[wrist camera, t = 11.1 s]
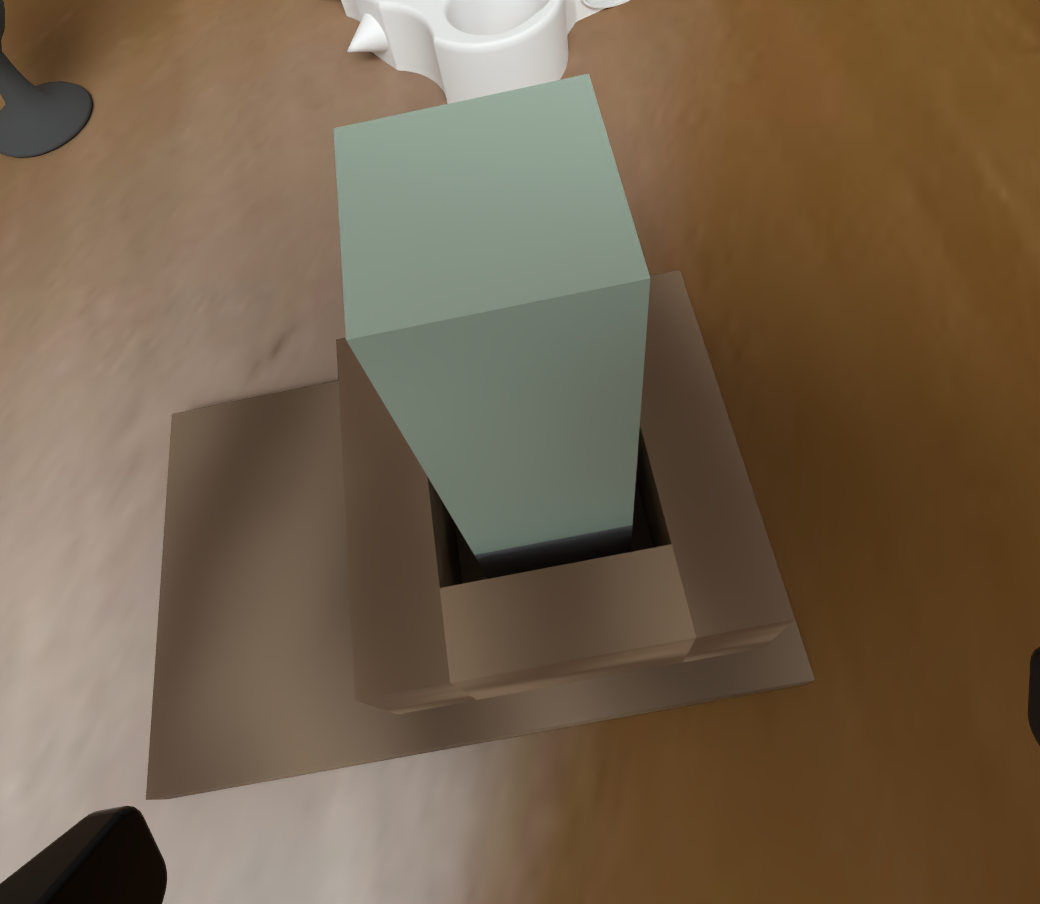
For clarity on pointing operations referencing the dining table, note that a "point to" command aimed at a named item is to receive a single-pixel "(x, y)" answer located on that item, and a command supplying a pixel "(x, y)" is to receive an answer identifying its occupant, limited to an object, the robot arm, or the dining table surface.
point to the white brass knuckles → (471, 40)
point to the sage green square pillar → (502, 314)
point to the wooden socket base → (442, 586)
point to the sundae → (37, 110)
